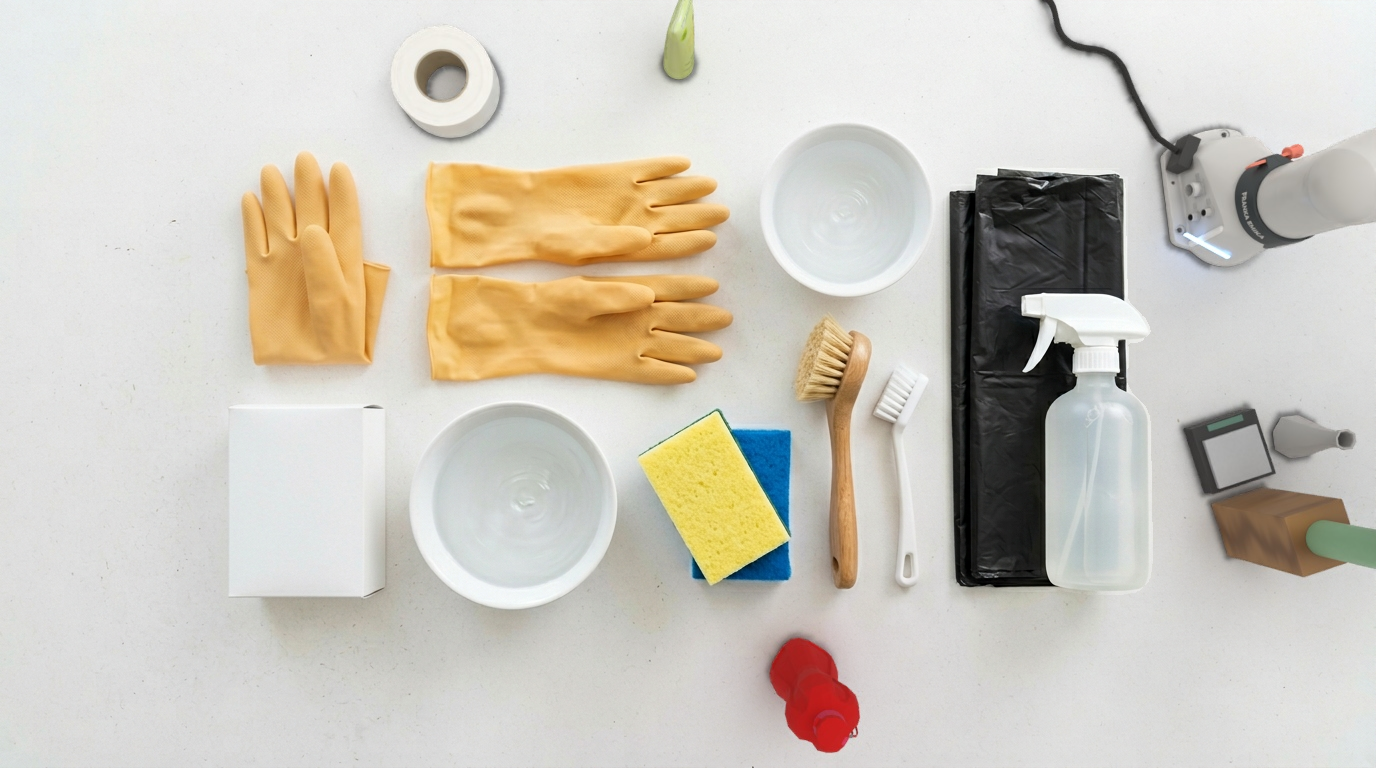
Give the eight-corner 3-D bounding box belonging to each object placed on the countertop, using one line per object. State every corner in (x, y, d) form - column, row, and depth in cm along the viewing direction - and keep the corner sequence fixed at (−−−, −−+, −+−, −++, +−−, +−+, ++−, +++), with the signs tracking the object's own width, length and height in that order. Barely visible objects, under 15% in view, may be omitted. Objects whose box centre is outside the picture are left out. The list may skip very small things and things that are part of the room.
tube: (700, 76, 125) (706, 16, 105) (671, 88, 125) (672, 31, 105) (686, 44, 125) (689, -22, 105) (657, 56, 125) (656, -7, 105)
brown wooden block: (1210, 503, 126) (1284, 517, 111) (1261, 486, 126) (1342, 498, 111) (1227, 556, 125) (1303, 577, 110) (1279, 539, 126) (1361, 558, 111)
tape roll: (493, 35, 124) (485, 18, 118) (506, 131, 124) (498, 119, 118) (396, 47, 123) (383, 30, 118) (408, 143, 123) (396, 131, 118)
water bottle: (818, 713, 123) (857, 792, 98) (760, 677, 123) (784, 747, 98) (849, 663, 123) (895, 730, 98) (791, 627, 123) (822, 685, 98)
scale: (1183, 428, 126) (1194, 429, 123) (1245, 408, 126) (1257, 408, 123) (1204, 492, 126) (1215, 494, 123) (1266, 472, 126) (1279, 473, 123)
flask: (1309, 462, 126) (1365, 468, 116) (1267, 453, 126) (1319, 458, 116) (1317, 419, 126) (1373, 421, 116) (1275, 410, 126) (1327, 411, 116)
